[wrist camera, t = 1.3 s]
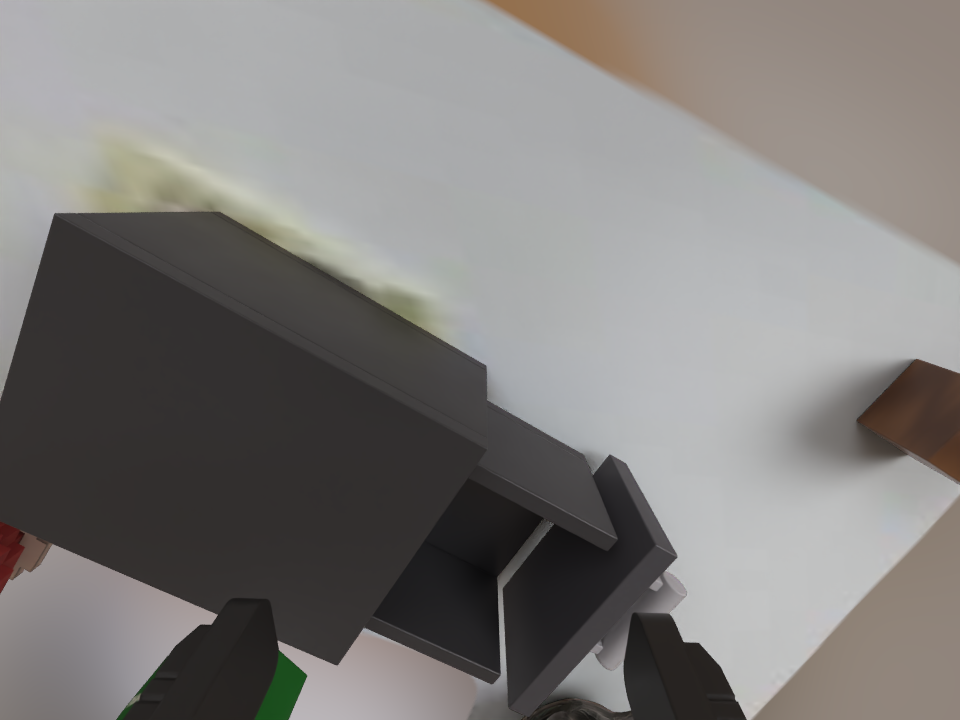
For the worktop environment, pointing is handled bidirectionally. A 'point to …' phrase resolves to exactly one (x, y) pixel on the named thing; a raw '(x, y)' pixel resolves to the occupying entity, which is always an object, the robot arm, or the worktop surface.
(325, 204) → the worktop surface
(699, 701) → the robot arm
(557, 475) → the drawer
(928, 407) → the block
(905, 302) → the worktop surface
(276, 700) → the milk carton
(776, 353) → the worktop surface
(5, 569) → the cake
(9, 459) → the cabinet
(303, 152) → the worktop surface
